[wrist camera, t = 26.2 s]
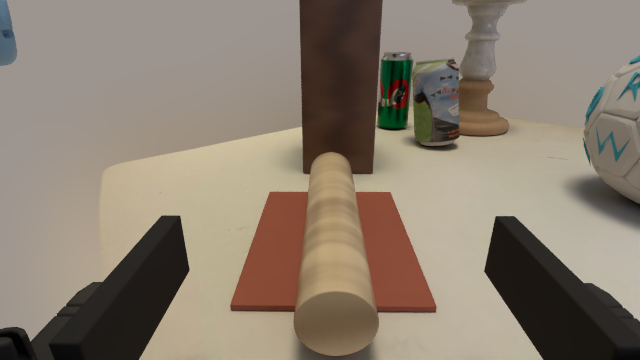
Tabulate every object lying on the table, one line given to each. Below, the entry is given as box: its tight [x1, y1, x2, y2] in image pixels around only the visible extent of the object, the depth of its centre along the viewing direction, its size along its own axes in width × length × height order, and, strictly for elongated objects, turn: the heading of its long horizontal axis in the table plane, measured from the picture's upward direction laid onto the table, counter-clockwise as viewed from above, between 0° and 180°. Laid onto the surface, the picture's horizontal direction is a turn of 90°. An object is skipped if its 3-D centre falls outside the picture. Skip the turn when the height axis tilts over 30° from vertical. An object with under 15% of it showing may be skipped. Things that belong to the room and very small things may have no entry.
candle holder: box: [452, 0, 526, 136], centre depth 57 cm, size 12×12×20 cm
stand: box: [300, 0, 382, 173], centre depth 40 cm, size 8×10×29 cm
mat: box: [230, 192, 436, 312], centre depth 28 cm, size 12×16×1 cm
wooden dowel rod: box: [294, 152, 379, 356], centre depth 26 cm, size 20×4×4 cm, turn 179°
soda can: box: [377, 52, 413, 130], centre depth 59 cm, size 5×5×12 cm
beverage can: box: [412, 57, 459, 146], centre depth 50 cm, size 6×7×12 cm
